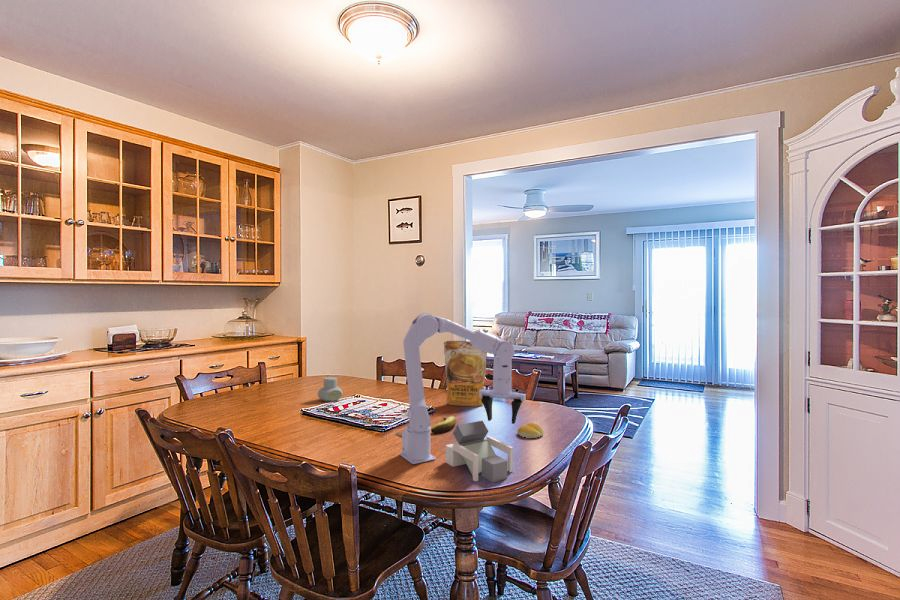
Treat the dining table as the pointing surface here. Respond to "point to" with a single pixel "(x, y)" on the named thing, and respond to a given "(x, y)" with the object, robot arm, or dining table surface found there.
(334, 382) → the air freshener
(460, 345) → the pancake mix bag
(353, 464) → the dining table surface
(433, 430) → the yellow and brown crescent
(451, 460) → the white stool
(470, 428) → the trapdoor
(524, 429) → the bread roll
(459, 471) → the dining table surface
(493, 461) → the grey cube
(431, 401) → the dining table surface
